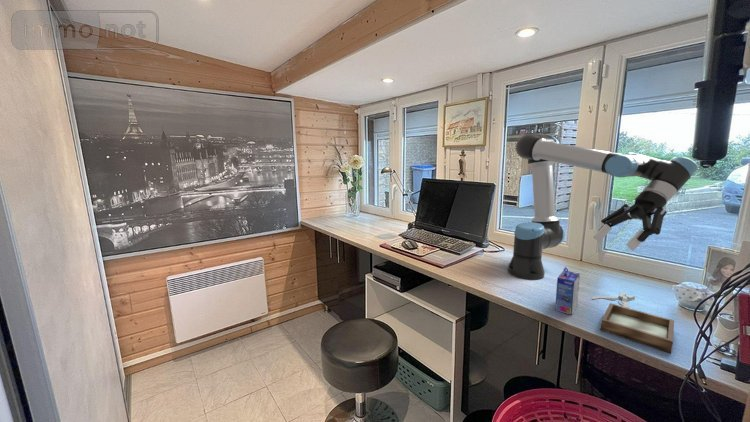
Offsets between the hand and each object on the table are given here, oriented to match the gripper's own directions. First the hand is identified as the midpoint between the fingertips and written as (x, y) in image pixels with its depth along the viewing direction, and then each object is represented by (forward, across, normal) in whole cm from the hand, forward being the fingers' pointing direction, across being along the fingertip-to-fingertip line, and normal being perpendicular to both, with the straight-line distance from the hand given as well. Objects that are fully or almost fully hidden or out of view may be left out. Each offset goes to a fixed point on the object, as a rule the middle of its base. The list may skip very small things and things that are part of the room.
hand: (612, 243), depth 101 cm
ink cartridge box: (+27, +2, -5) cm, 28 cm away
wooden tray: (+20, -13, -14) cm, 28 cm away
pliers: (+12, +6, -22) cm, 26 cm away
